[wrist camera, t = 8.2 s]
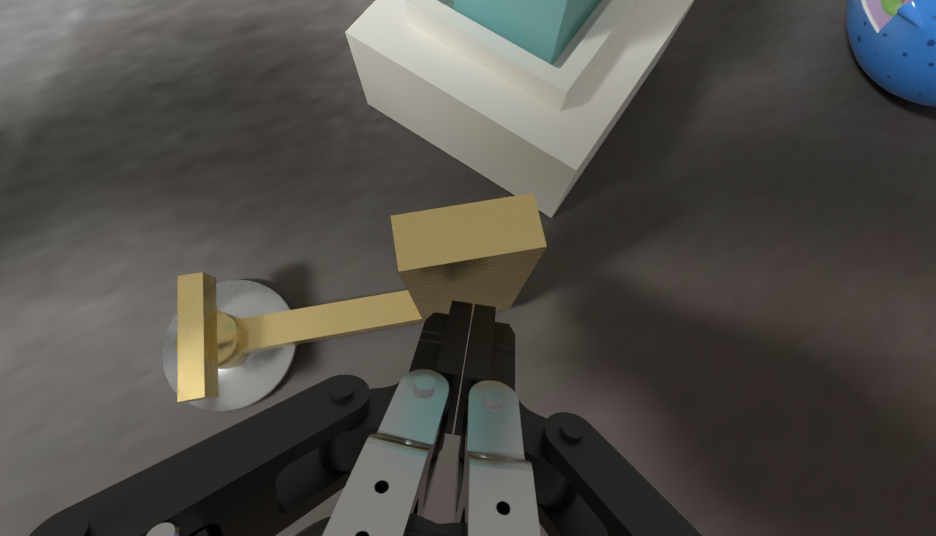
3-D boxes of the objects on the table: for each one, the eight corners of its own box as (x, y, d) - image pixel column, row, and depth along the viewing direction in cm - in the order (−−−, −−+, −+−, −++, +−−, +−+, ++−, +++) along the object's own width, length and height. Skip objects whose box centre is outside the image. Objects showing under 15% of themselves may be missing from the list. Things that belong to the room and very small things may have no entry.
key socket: (140, 360, 20) (134, 359, 20) (230, 258, 21) (226, 256, 21) (237, 438, 19) (233, 439, 19) (324, 327, 21) (322, 326, 20)
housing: (367, 103, 24) (337, 9, 18) (487, -31, 27) (495, -151, 21) (551, 218, 22) (584, 155, 16) (657, 61, 25) (718, -41, 19)
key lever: (201, 403, 19) (-23, 412, 10) (199, 293, 20) (0, 218, 12) (516, 345, 20) (561, 308, 11) (495, 244, 21) (521, 140, 12)
